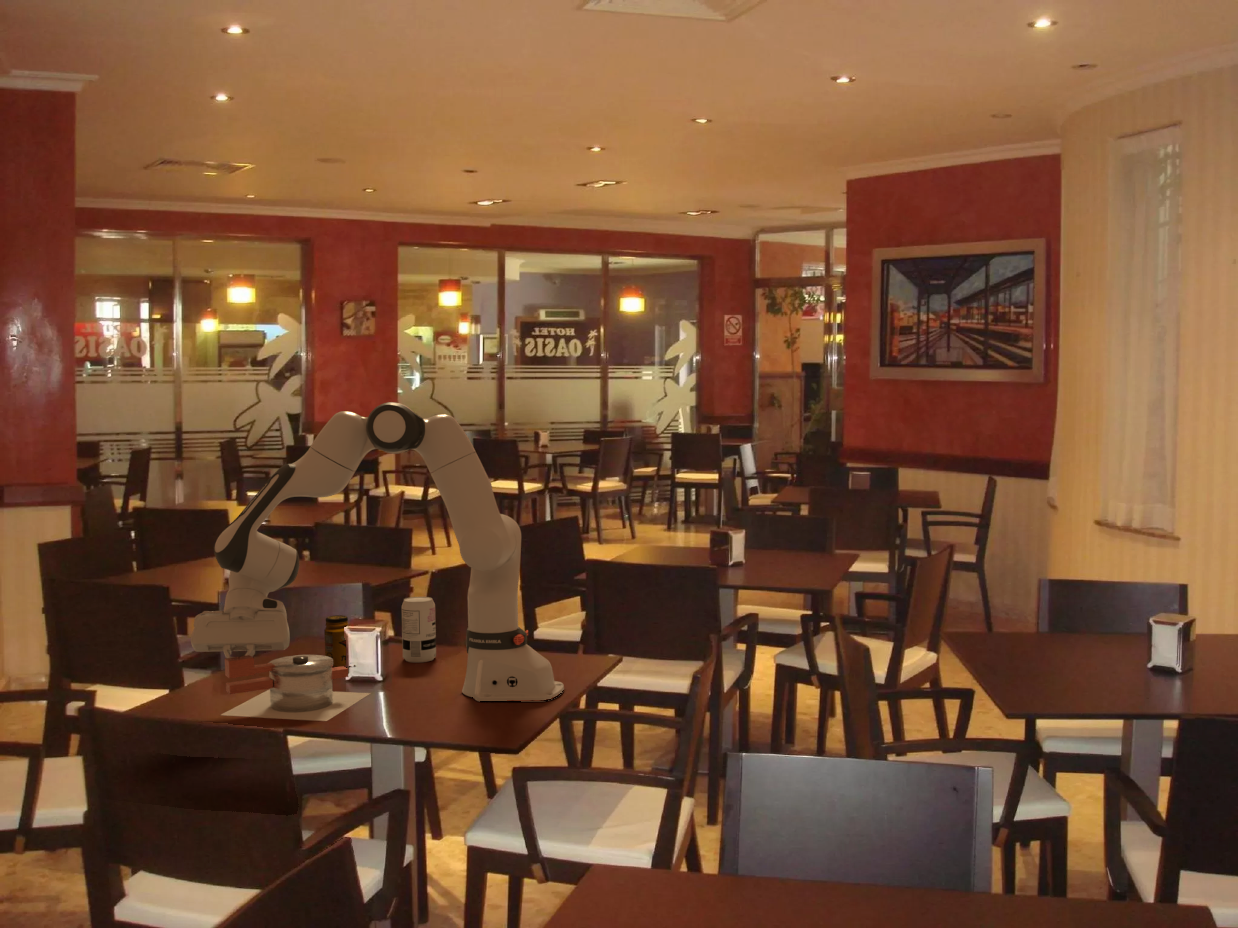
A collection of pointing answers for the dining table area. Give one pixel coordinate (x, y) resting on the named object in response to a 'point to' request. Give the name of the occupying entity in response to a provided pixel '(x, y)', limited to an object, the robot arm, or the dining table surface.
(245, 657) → the lid
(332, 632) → the condiment
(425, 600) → the supplement can
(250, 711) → the mat
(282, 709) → the cooker
